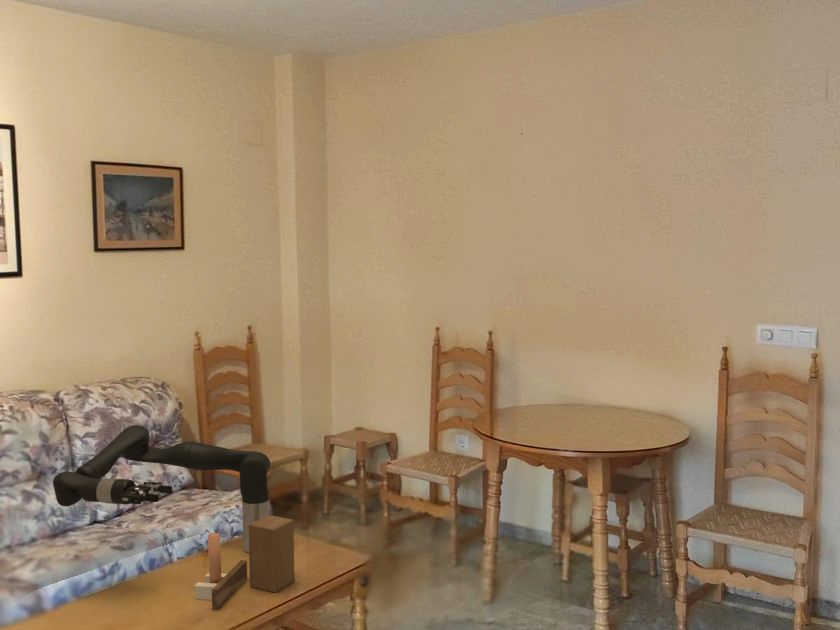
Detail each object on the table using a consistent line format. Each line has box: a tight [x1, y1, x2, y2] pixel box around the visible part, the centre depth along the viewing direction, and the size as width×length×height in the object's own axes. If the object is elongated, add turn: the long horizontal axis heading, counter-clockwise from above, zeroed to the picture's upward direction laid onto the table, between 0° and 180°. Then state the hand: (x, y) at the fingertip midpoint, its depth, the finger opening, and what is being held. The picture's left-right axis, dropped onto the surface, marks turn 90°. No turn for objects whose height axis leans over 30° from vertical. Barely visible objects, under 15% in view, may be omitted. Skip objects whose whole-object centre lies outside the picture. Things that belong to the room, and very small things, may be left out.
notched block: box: [194, 571, 228, 601], centre depth 249 cm, size 8×10×4 cm
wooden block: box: [248, 514, 295, 593], centre depth 254 cm, size 10×10×20 cm
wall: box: [211, 559, 248, 611], centre depth 248 cm, size 2×22×6 cm, turn 170°
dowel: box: [207, 532, 222, 584], centre depth 248 cm, size 4×4×18 cm
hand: (165, 493), depth 249 cm, fingers open, 8 cm apart
